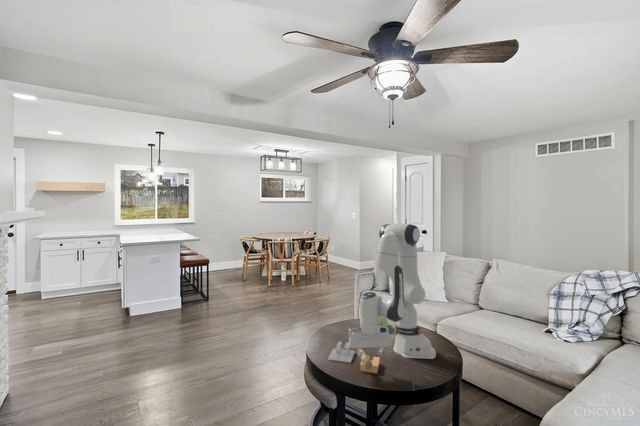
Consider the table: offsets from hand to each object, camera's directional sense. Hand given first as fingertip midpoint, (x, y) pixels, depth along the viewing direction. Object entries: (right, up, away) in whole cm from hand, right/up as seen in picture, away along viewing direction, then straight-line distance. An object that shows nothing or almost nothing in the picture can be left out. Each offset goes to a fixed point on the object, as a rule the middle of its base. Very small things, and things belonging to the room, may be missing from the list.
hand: (370, 355), depth 156 cm
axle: (-1, -4, +3) cm, 5 cm away
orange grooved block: (0, -8, +4) cm, 9 cm away
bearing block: (-13, -8, +16) cm, 22 cm away
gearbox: (+14, -9, +57) cm, 59 cm away
